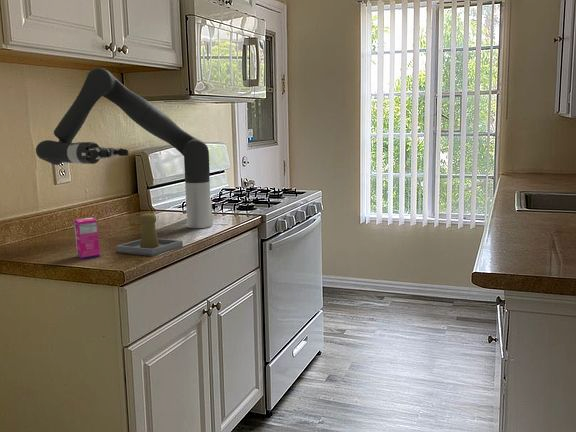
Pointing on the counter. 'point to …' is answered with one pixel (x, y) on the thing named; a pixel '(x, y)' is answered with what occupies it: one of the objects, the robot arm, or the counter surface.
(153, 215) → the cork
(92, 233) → the supplement box
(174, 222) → the counter surface
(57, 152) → the robot arm
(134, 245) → the tray
